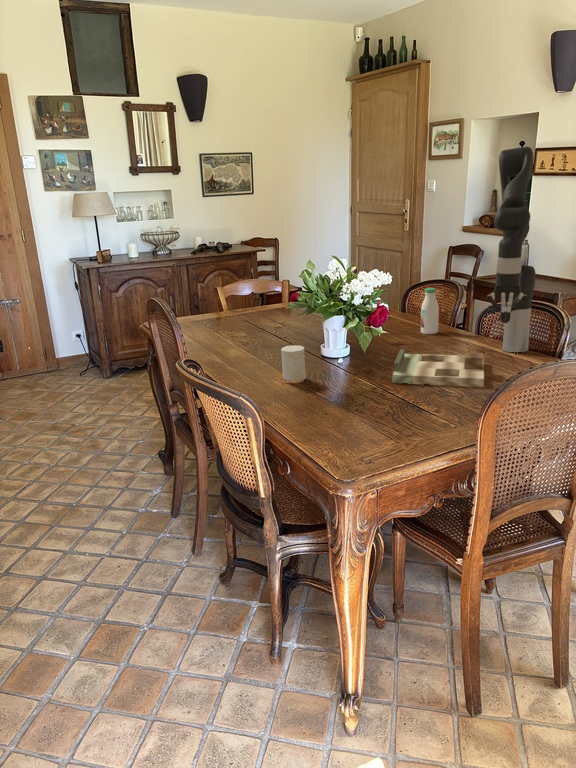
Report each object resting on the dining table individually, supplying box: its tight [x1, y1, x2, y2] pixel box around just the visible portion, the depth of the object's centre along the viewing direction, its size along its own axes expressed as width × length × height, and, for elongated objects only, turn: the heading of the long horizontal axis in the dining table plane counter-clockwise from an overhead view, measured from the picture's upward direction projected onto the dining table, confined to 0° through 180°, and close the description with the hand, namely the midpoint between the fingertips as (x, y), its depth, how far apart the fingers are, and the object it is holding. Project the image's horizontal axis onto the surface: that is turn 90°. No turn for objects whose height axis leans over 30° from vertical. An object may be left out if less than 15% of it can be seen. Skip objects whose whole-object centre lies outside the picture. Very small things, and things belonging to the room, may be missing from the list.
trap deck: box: [391, 348, 485, 388], centre depth 207 cm, size 30×26×6 cm
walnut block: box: [464, 352, 484, 369], centre depth 203 cm, size 6×6×4 cm
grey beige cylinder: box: [280, 344, 307, 381], centre depth 208 cm, size 8×8×12 cm
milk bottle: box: [420, 287, 440, 335], centre depth 259 cm, size 8×8×20 cm
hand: (505, 322), depth 195 cm, fingers closed
